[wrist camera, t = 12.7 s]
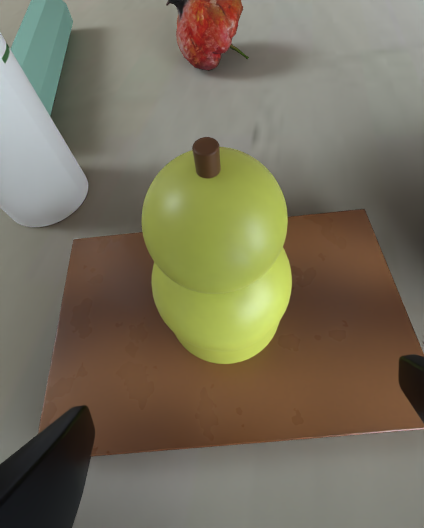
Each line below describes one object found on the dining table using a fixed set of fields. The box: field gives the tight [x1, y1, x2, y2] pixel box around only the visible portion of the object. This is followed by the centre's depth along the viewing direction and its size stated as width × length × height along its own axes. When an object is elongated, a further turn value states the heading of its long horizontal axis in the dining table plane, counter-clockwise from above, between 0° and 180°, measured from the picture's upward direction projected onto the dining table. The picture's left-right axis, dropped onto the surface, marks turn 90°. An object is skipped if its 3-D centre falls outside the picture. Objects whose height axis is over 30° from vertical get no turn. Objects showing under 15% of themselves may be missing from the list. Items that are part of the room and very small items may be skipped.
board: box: [38, 209, 424, 456], centre depth 19 cm, size 13×20×2 cm, turn 94°
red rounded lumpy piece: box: [166, 0, 249, 70], centre depth 33 cm, size 7×7×10 cm
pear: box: [142, 137, 292, 364], centre depth 13 cm, size 7×7×12 cm
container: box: [10, 0, 73, 115], centre depth 34 cm, size 6×6×25 cm
